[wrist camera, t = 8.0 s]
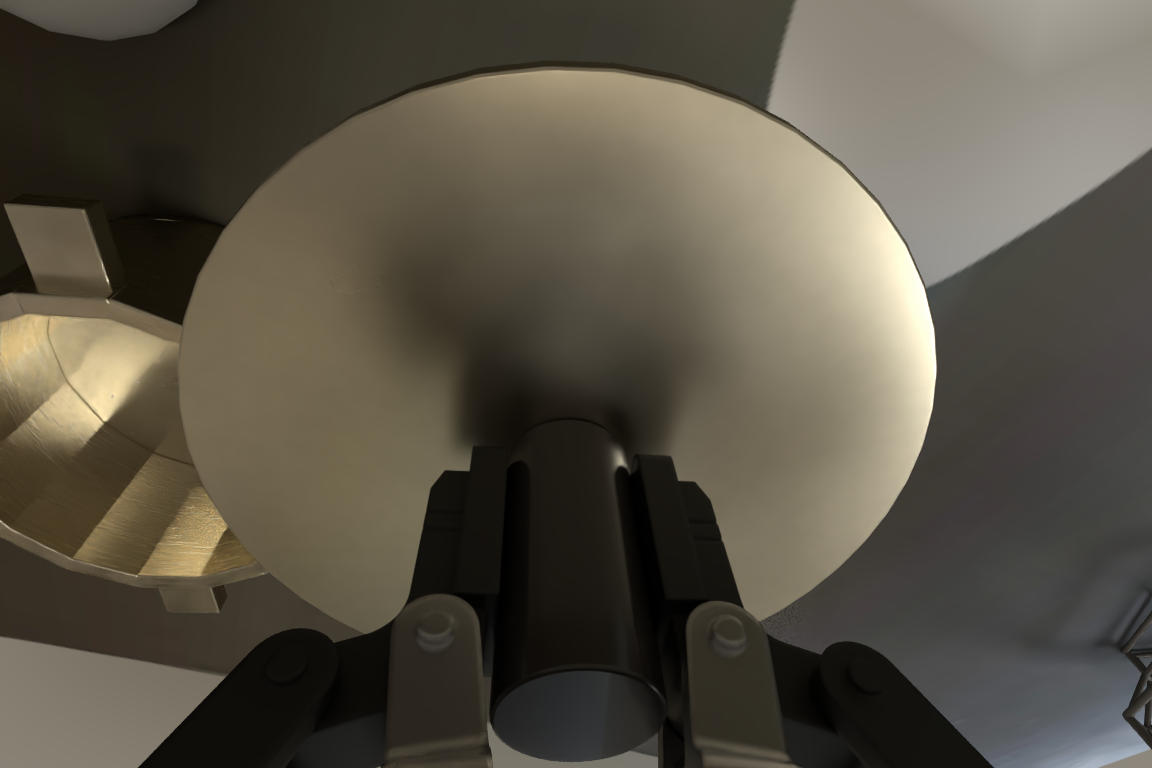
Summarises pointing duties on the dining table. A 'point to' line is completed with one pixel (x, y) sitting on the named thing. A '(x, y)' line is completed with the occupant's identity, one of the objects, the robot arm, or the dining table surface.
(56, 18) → the donut
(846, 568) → the dining table surface
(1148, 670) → the geometric lantern
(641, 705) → the lid
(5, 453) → the pot
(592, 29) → the dining table surface
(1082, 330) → the dining table surface
